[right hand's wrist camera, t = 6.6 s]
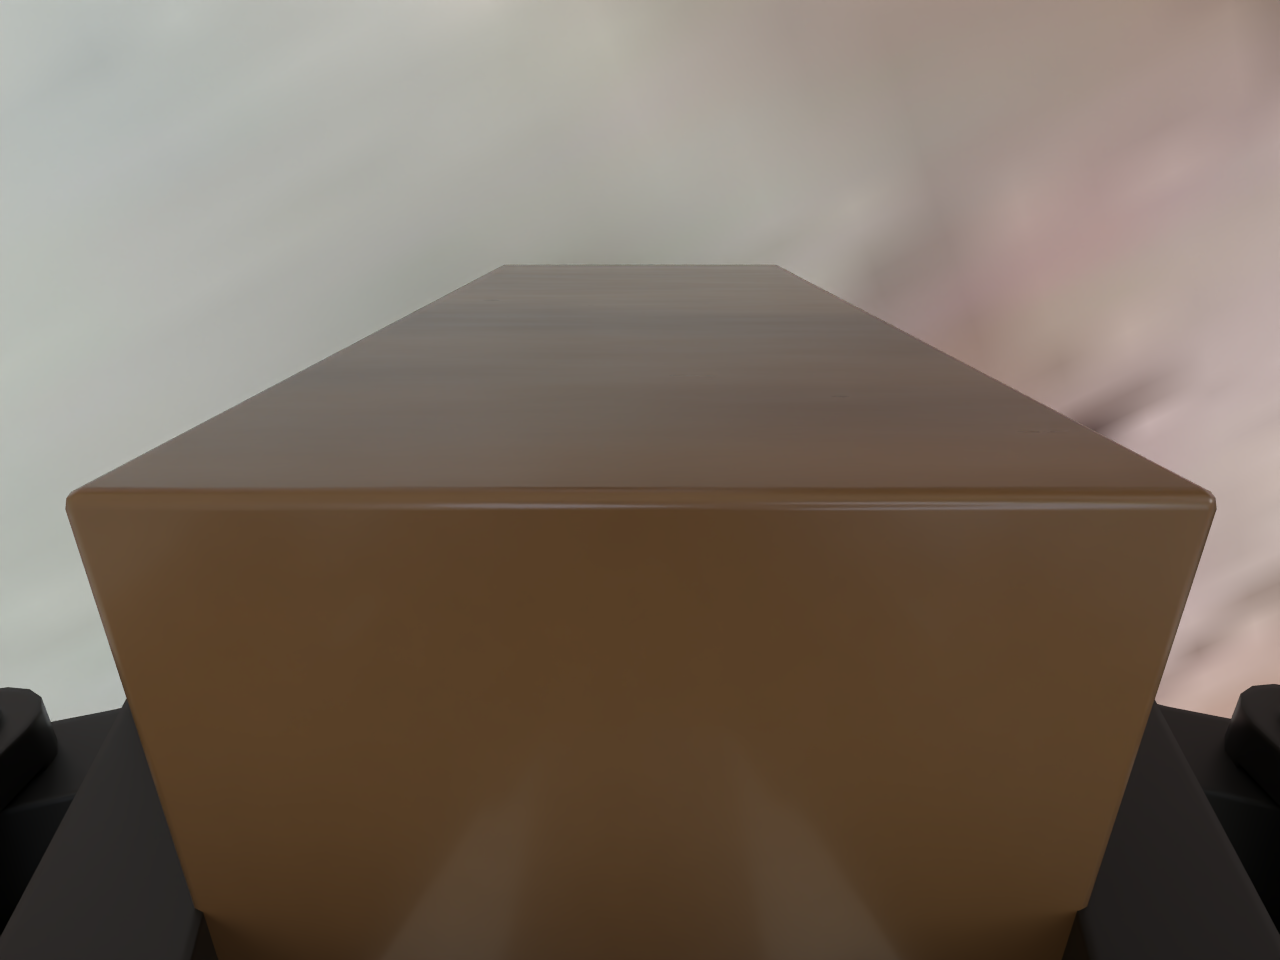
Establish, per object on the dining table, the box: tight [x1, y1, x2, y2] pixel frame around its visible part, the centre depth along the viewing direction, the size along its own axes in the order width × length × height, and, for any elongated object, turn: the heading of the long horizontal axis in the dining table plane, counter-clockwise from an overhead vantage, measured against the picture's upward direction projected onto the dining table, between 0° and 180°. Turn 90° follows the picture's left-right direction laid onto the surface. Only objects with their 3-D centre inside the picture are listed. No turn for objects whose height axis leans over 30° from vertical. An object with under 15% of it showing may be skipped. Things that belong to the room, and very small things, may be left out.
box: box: [66, 265, 1216, 960], centre depth 14 cm, size 24×6×13 cm, turn 0°
